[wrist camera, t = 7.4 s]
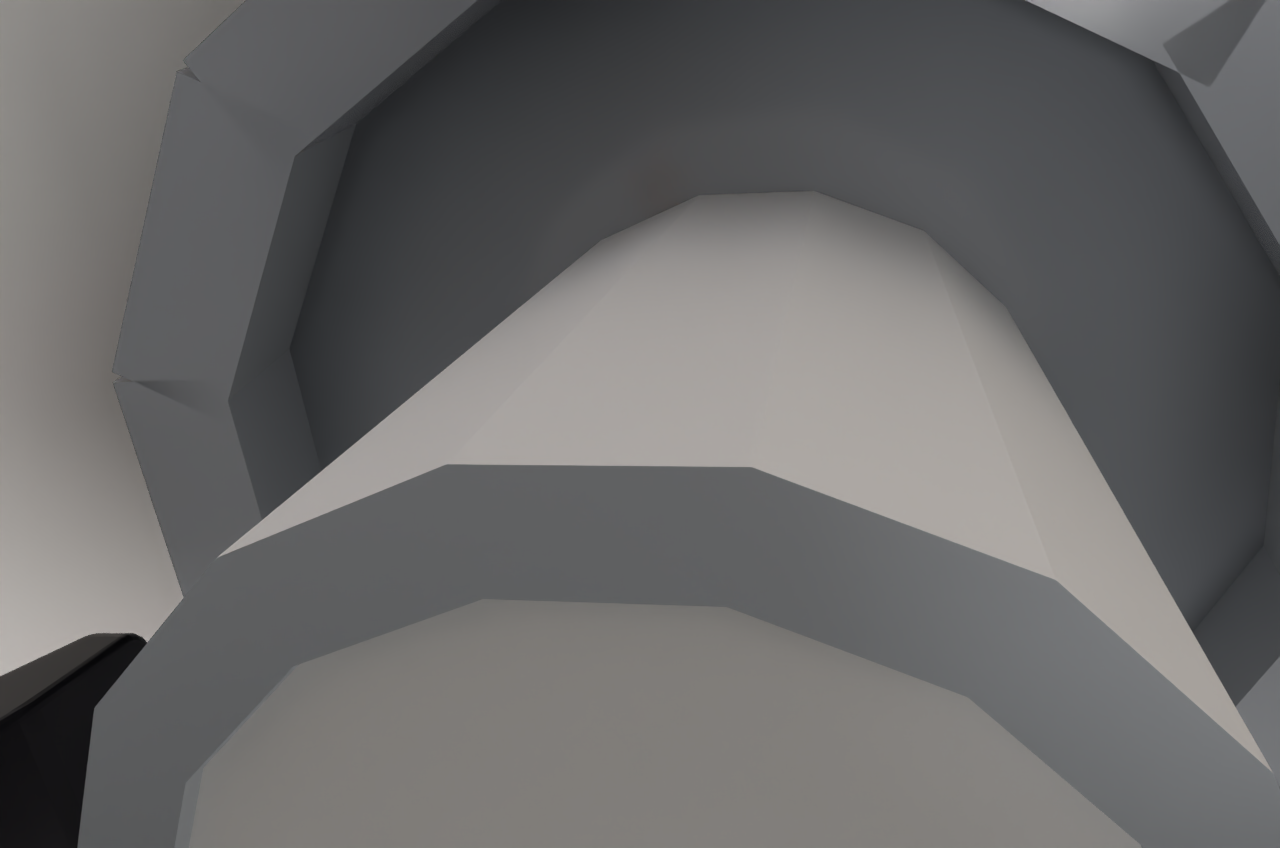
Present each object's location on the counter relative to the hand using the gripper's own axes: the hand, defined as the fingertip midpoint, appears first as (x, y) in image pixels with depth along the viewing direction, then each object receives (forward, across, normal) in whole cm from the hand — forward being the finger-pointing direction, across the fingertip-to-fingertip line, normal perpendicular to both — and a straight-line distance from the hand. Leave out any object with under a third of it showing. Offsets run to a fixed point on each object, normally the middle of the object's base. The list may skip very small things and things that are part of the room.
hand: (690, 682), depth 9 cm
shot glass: (+4, 0, 0) cm, 4 cm away
